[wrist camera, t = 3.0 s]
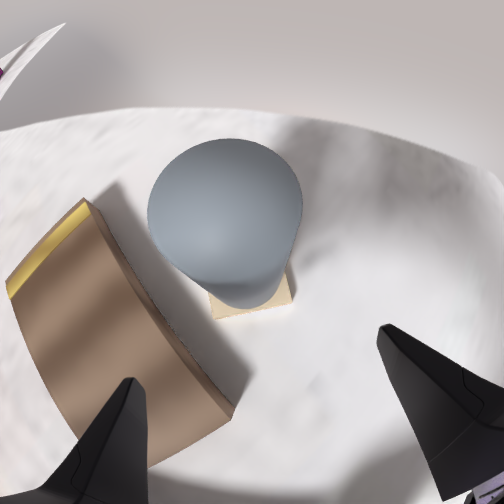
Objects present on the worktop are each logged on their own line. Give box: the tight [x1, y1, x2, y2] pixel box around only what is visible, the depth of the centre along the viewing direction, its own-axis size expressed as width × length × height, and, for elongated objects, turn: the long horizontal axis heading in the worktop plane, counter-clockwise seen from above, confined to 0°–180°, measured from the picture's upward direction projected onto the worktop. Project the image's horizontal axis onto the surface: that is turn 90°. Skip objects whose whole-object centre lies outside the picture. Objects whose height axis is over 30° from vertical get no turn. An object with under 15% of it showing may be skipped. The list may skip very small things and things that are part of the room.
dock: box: [5, 197, 235, 469], centre depth 19 cm, size 22×13×3 cm, turn 39°
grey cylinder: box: [147, 139, 303, 320], centre depth 16 cm, size 6×6×13 cm
